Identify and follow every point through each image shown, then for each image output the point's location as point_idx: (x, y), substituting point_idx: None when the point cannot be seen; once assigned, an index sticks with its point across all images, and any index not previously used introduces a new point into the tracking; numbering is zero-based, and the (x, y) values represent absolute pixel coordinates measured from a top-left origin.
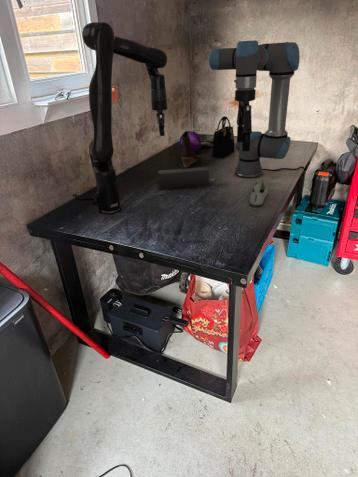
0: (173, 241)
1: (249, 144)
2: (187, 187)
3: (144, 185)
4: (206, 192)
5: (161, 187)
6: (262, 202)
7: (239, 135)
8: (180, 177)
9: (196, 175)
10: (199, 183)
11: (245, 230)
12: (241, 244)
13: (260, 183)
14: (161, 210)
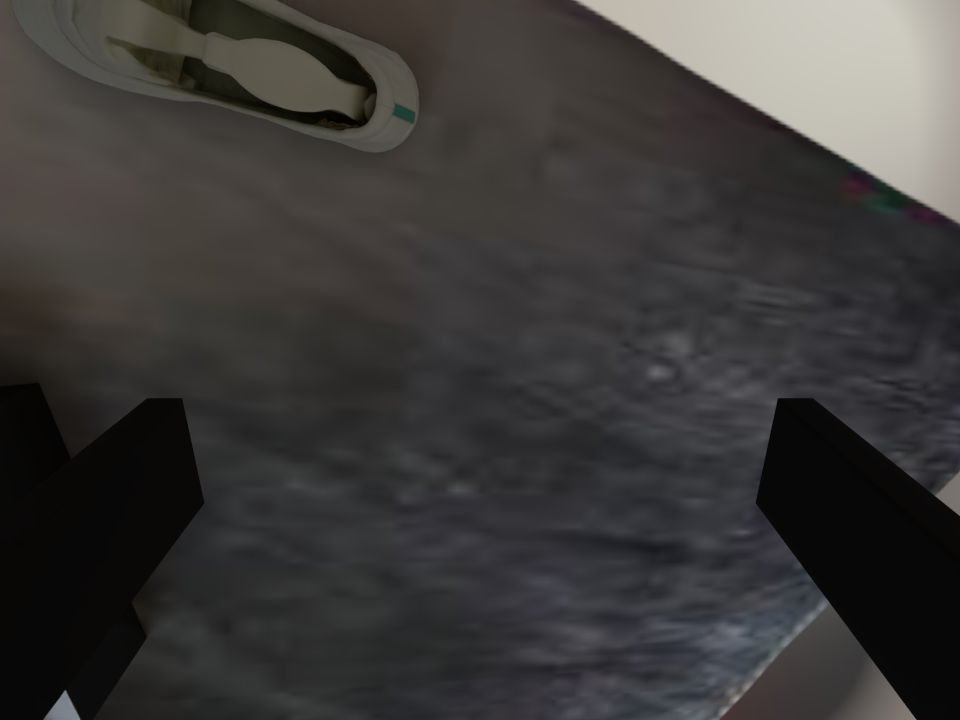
0: (740, 568)
1: (888, 466)
2: None
3: None
4: None
5: (135, 641)
6: (395, 54)
7: (125, 559)
8: None
9: (10, 502)
10: (47, 450)
11: (722, 240)
12: (861, 287)
13: (153, 15)
14: (418, 620)
